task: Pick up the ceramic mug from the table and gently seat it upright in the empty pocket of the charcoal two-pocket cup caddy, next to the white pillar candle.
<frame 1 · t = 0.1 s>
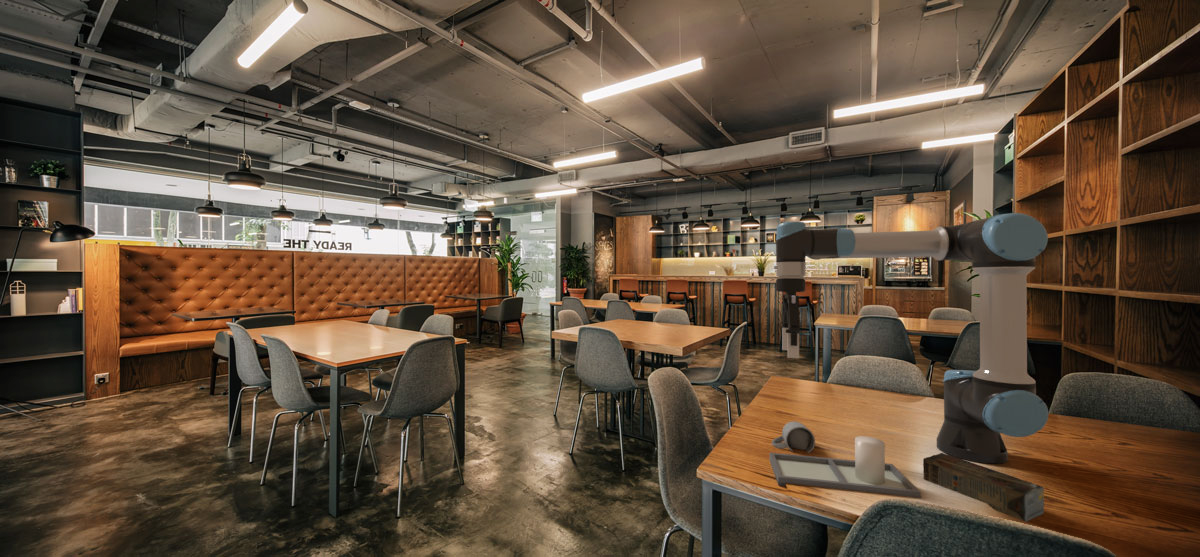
hand: (790, 353, 120), 28 cm above the table, tool pointing down, fingers open, 13 cm apart
white pillar candle: (869, 478, 103), point 1 cm above the table, touching cup caddy
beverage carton: (979, 499, 96), on the table
cup caddy: (837, 478, 104), on the table
ceramic mug: (792, 450, 123), on the table
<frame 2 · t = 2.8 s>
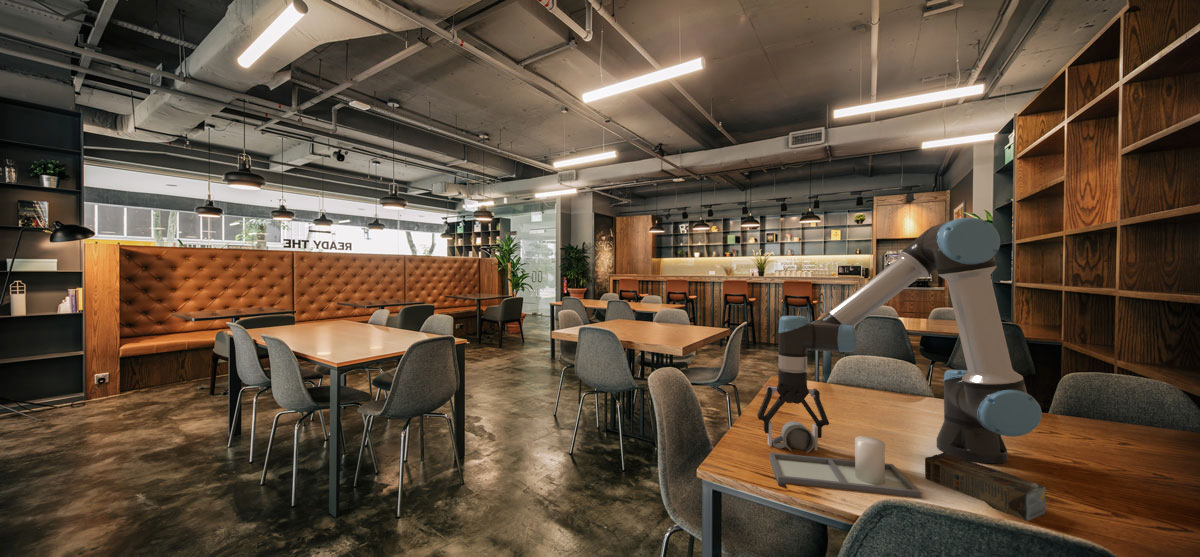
hand: (792, 446, 123), 1 cm above the table, tool pointing down, fingers open, 11 cm apart
ceramic mug: (791, 450, 123), on the table, touching gripper
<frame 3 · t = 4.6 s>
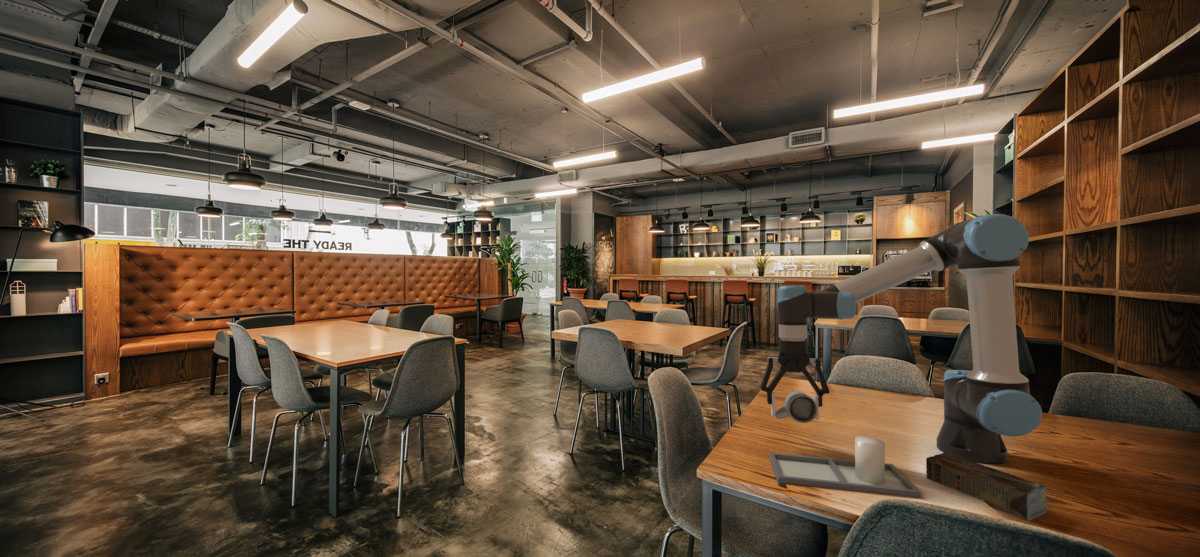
hand: (794, 416, 123), 9 cm above the table, tool pointing down, fingers closed on ceramic mug, 11 cm apart
ceramic mug: (795, 419, 122), point 9 cm above the table, touching gripper
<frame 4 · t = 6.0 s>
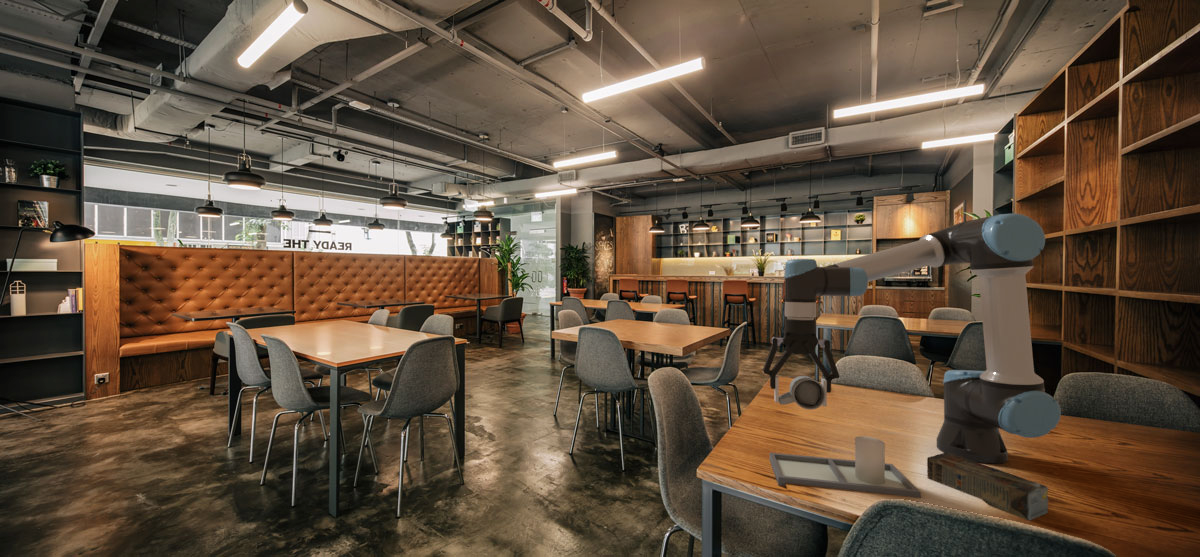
hand: (799, 403, 112), 16 cm above the table, tool pointing down, fingers closed on ceramic mug, 11 cm apart
ceramic mug: (800, 406, 112), point 15 cm above the table, touching gripper
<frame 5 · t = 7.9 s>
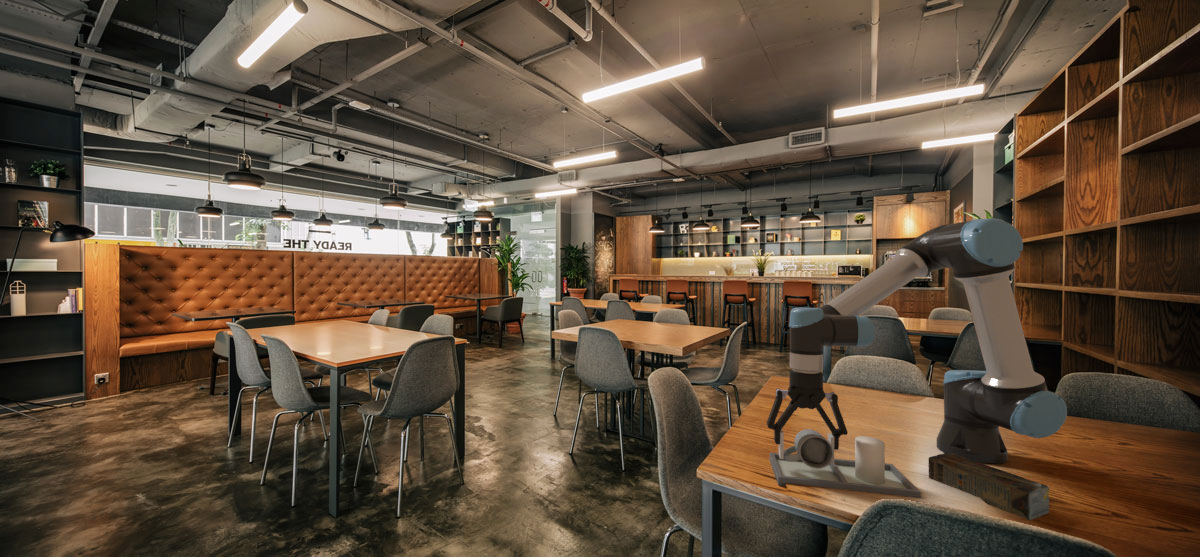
hand: (805, 459, 106), 4 cm above the table, tool pointing down, fingers closed on ceramic mug, 11 cm apart
ceramic mug: (806, 463, 106), point 3 cm above the table, touching gripper
when the fingers open (3 cm above the table, at t = 9.1 s): ceramic mug drops 1 cm, resting on cup caddy.
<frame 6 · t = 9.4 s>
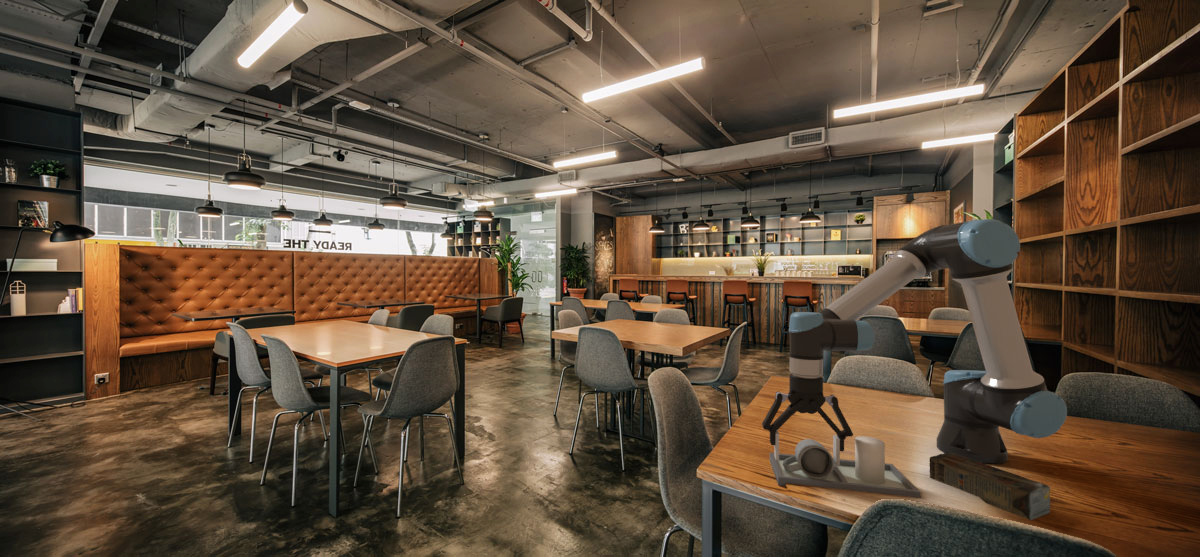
hand: (806, 461, 106), 3 cm above the table, tool pointing down, fingers open, 13 cm apart
ceramic mug: (807, 473, 106), point 1 cm above the table, touching cup caddy
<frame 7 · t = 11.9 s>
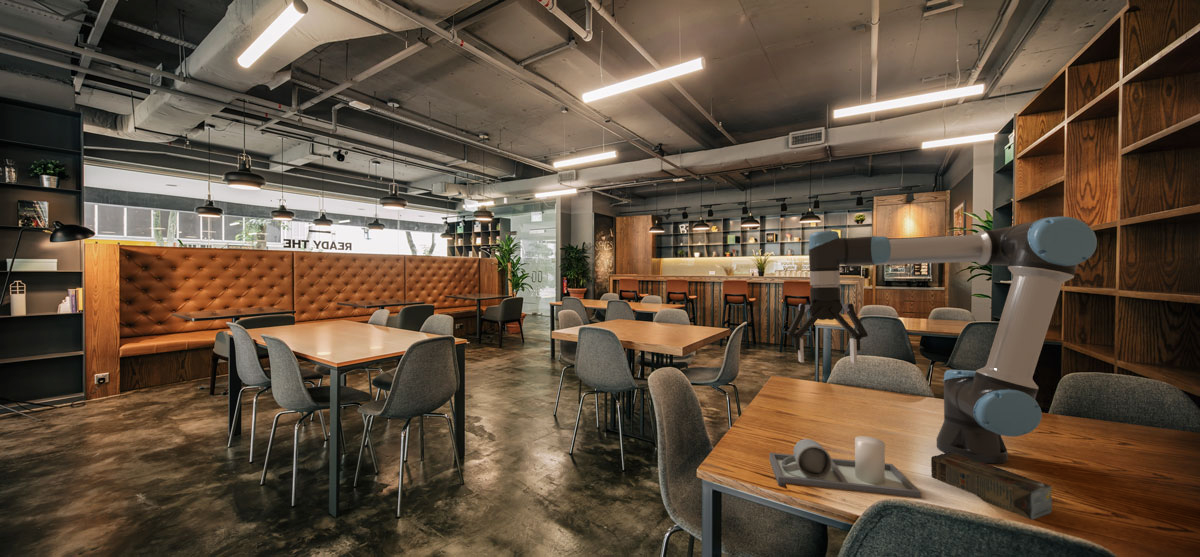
hand: (827, 362, 121), 25 cm above the table, tool pointing down, fingers open, 13 cm apart
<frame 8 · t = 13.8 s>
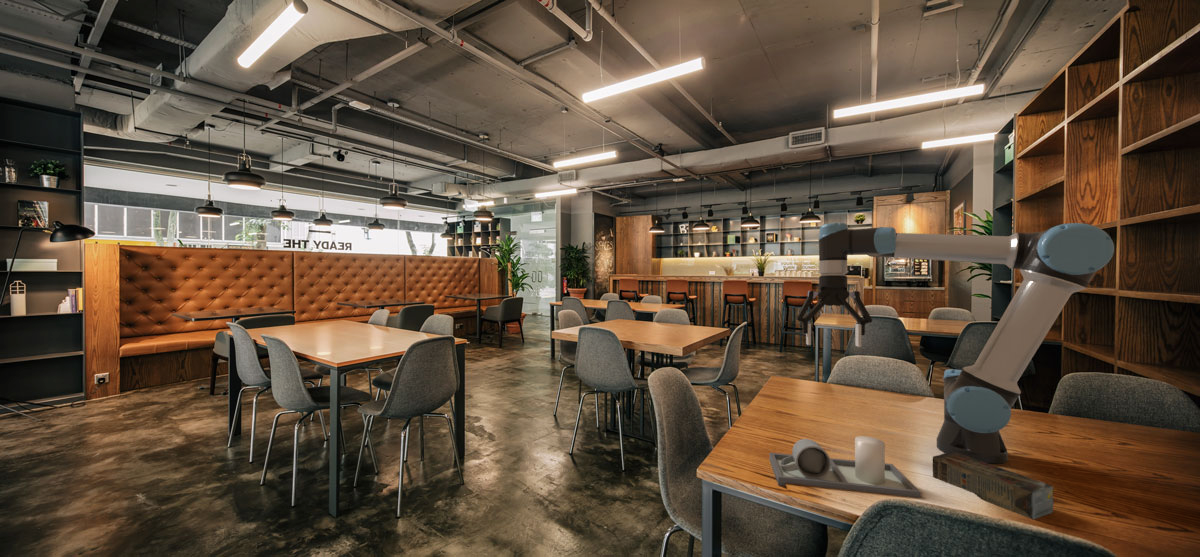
hand: (833, 345, 129), 29 cm above the table, tool pointing down, fingers open, 13 cm apart
at the end: ceramic mug 0.5 cm from the target spot on the cup caddy, point 0.6 cm above the cup caddy's base; ceramic mug tilted 1°; the gripper is holding nothing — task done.
